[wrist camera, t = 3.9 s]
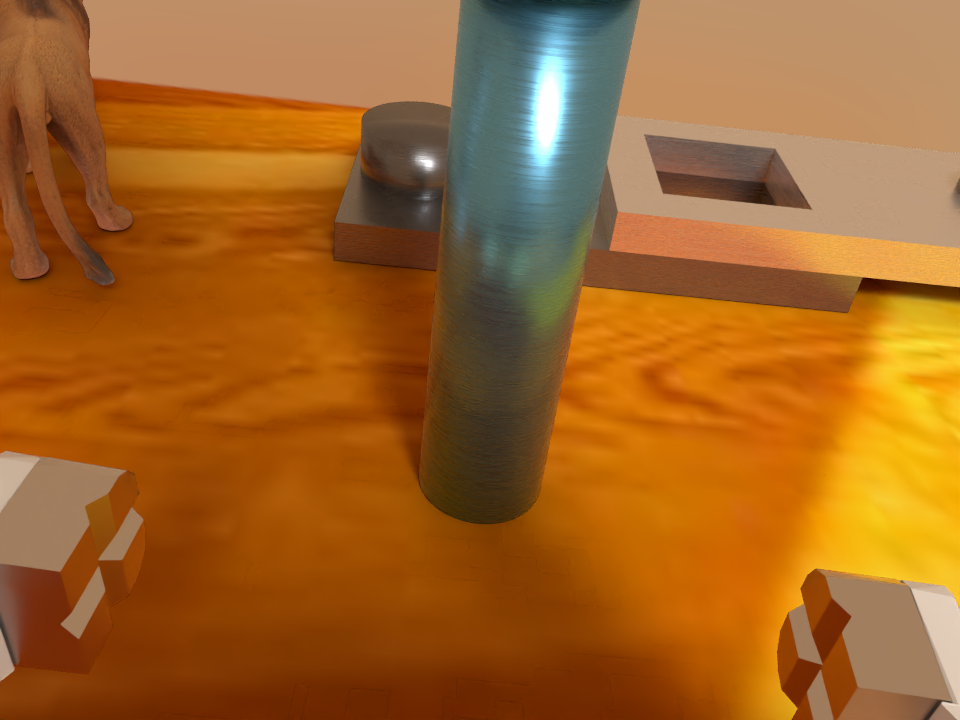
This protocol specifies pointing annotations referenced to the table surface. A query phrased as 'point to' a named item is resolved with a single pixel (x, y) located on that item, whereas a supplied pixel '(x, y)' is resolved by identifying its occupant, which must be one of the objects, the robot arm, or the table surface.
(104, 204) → the lion figurine
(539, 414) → the pin
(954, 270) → the latch plate
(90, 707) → the table surface
